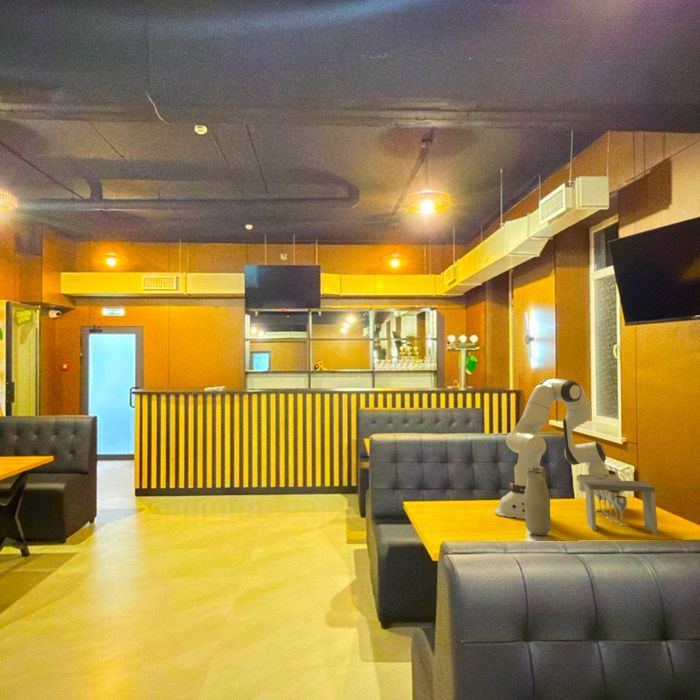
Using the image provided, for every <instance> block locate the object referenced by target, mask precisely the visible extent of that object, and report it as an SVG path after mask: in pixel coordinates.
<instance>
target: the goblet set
mask: <svg viewBox="0 0 700 700" xmlns="http://www.w3.org/2000/svg"><path fill="white" fill-rule="evenodd" d="M594 497H595V498H597V499H598V503H599V509H595V510H596V511H595V512H597V511H602V512H601V513H602V514H604V515H603V516H607V517H606V518H608V519H611V518H614V517H615V518H614V520H613V519H611V520H612V521H611V522H613V521H619V520H620V519H618V517H617V514H618V512H617V511H618V510H619V512H620V516H621V521H622V522H618V523H619V524H622V525H626V524H627V523H625V524H624V518H623V515H624V512H625V510H626V508H627V506H628V499H627V497H626V496H623V494H621V492H620V491H615V490H594ZM602 498H603V500H601V499H602ZM606 499H607V500H606ZM601 501H603V506H604V509H601ZM606 503H608V506H609V511H610V512H609V513H608V512H607V510H606ZM612 506H613V508H614V513H615V516H612ZM617 509H618V510H617ZM604 510H605V511H604ZM602 514H601V515H602ZM609 514H610V515H609ZM615 519H616V520H615Z"/></svg>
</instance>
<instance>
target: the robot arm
mask: <svg viewBox="0 0 700 700" xmlns="http://www.w3.org/2000/svg"><path fill="white" fill-rule="evenodd" d="M528 397H529V398H528V401H527V403H526V405H525V407H524V410H523V413H522V415H521V417H520V419H519V421H518V422H517V424H516V426H515V427H514V429H513V430H512V431H511V432H509V433H508V434H507V436H506V438H505V444H506V446H507V447H508V448H509V450H511V451H513V453H515V454H518V458H517V463H516V464H515V465H514V468H513V469H514V483H513V482H510V483H509V487H510V491H509V492H507V494H506V495H504V496H502V497H501V498H500V499H499V505H498V507H496V508H494V513H496V514H497V515H496V514H495V515H496V516H498V515H499V517H504V516H505V517H506V516H507V517H506V518H513V517H516V518H515V519H521V520H522V519H523V520H526V517H525V516H526V515H525V498H524V497H525V496H524V495H525V489H526V485H527V479H528V475H527V468H528V467H530V466H534V465H535V466H540V464H541V460H542V456H543V455H544V454H545V452H546V449H547V443H546V441H545V439H544V438H543V437H541V436H540V435H539V434H538V433H539V432H540V430H541V429H543V428H544V427H545V426H546V424H547V421H548V418H549V415H550V413H551V411H552V410H551V409H552V407H553V402H555V401H557V402H564V404H565V409H566V415H565V417H563V419H562V427H563V428H562V429H563V431H562V432H563V439H564V457H565V460H566V462H567V463H569V464H571V465H572V466H577V465H581V464H585V465H586V466H587V473H588V474H578V475H577V476H576V480H577V481H576V482H578V490H579V491H580V492H583V493H585V479H592V480H619V481H623V480H622V478H620V476H619V473H618V472H617V471H614V470H611V469H609V468H607V467H606V462H605V461H606V459H607V457H606V452H605V449H604V447H603V445H602V444H600V443H599V442H597V441H593V442H591V441H590V442H587V443H577V444H574V443H573V442H574V441H573V431H574V430H575V429H576V428H577V427H580V426H581V425H583V424H585V423H587V422H588V421H589V419H590V418H591V416H592V407H591V404H590V400H589V398H588V396H587V393H586V392H585V390H584V388H583V387H582V386H581V385H580V384H579V383H577V382H576V381H573V380H568V379H563V378H551V377H547V378H544V379H542V380H540V382H539V384H538V385H536V386H535V387H534V388H533V391H532V392H531V394H530V395H529V396H528ZM615 491H616V490H615ZM620 492H621V495H623V493H624V492H625V491H620ZM601 501H603V498H602V499H601ZM606 501H607V499H606ZM505 517H504V518H505Z"/></svg>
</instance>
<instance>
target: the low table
mask: <svg viewBox="0 0 700 700" xmlns="http://www.w3.org/2000/svg"><path fill="white" fill-rule="evenodd" d="M594 490H616V491H624V492H640V493H642V504H643V505H642V506H643V507H642V508H643V518H644V519H643V521H644V522H643V523H644V527H645V528H646V529H647V530H648V531H651V532H652V535H654V534H658V535H659V532H658V518H657V504H656V489H655V486H653V485H652V484H650V483H649V482H647V481H642V480H641V481H639V480H622V481H619V480H592V479H585V492H584V493H585V508H586V510H585V511H586V523H587V525H588V526H589V527H590V529H591V530H592V531H593V530H596V531H597V519H596V518H597V516H596V515H597V514H596V511H595V510H596V501H595V500H596V499H595V498H596V496H595V495H594ZM596 531H595V532H596ZM651 532H650V533H651Z"/></svg>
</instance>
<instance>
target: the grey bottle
mask: <svg viewBox="0 0 700 700" xmlns="http://www.w3.org/2000/svg"><path fill="white" fill-rule="evenodd" d="M527 475H528V479H527V485H526V489H525V495H524V496H525V497H524V498H525V515H526V516H525V517H526V519H525V527H526V529H527V531H528V532H529V533H530V534H532V535H534V536H546V535H548V534H549V532H550V531H551V523H552V522H551V520H552V519H551V497H550V492H549V488H548V485H547V482H546V481H547V480H546V471H545V468H544V467H543V466H541V465H539V466H535V465H534V466H530V467H528V468H527Z"/></svg>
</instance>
